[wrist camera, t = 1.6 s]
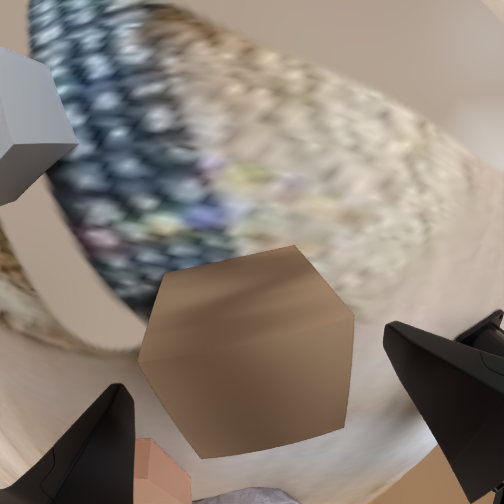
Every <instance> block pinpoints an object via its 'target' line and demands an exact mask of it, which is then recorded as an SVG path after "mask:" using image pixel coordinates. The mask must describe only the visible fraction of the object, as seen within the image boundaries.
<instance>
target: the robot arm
mask: <svg viewBox="0 0 504 504" xmlns="http://www.w3.org/2000/svg"><path fill="white" fill-rule="evenodd" d="M503 315H504V311H502V310H501V309H500V310H498V311H497V312H496V313H494V314H493V315H491V316H490V317H489V318H487V319H486V320H484V321H483V322H481V323H480V324H478V325H477V326H475V327H474V328H472V329H470V330H469V331H467V332H466V333H464V334H462V335H461V336H460V337H459V338H458V339H457V340H456V342H455V341H452V340H449V339H446V338H443V337H441V336H438V335H435V334H432V333H429V332H427V331H424V330H421V329H418V328H415V327H413V326H410V325H407V324H404V323H402V322H399V321H393V322H390V323H388V324H386V325H385V328H384V336H383V347H384V350H385V351H386V353H387V355H388V357H389V359H390V361H391V363H392V365H393V368H394V370H395V372H396V374H397V376H398V378H399V380H400V381H401V383H402V385H403V386H404V388H405V390H406V391H407V393H408V394H409V396H410V398H411V399H412V401H413V402H414V404H415V406H416V407H417V409H418V410H419V412H420V414H421V415H422V417H423V419H424V420H425V422H426V424H427V425H428V427H429V429H430V430H431V432H432V434H433V436H434V437H435V439H436V441H437V442H438V444H439V446H440V447H441V449H442V451H443V453H444V455H445V456H446V458H447V460H448V462H449V464H450V466H451V468H452V470H453V472H454V473H455V475H456V477H457V479H458V481H459V483H460V485H461V487H462V489H463V491H464V493H465V495H466V497H467V499H468V501H469V502H470V504H472V503H473V502H475V501H476V500H478V499H480V498H481V497H482V496H484V495H486V494H487V493H488V492H490V491H491V490H492V491H493V492H495V493H496V494H495V498H494V501H493V504H504V330H502V329H501V328H500V324H501V321H502V318H503ZM134 459H135V408H134V400H133V398H132V396H131V395H130V393H129V392H128V390H127V389H126V387H125V386H124V385H123V384H122V383H115V384H111V385H110V386H109V387H108V388H107V389H106V390H105V391H104V392H103V393H102V394H101V395H100V396H99V397H98V398H97V399H96V400H95V401H94V403H93V404H92V405H91V406H90V407H89V408H88V409H87V410H86V411H85V412H84V413H83V414H82V415H81V416H80V417H79V419H78V420H77V421H76V422H75V423H74V424H73V425H72V426H71V427H70V428H69V429H68V430H67V431H66V432H65V434H64V435H63V436H62V437H61V438H60V439H59V440H58V441H57V442H56V443H55V444H54V446H53V447H52V448H51V449H50V450H49V451H48V452H47V453H46V454H45V455H44V456H43V457H42V458H41V459H40V460H39V461H38V462H37V463H36V464H35V465H34V466H33V467H32V468H31V469H30V470H28V471H27V472H26V473H25V474H24V475H23V476H22V477H20V478H19V479H18V480H17V481H16V482H15V483H14V484H12V485H11V486H9V487H7V488H5V489H0V504H134Z"/></svg>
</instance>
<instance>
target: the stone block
mask: <svg viewBox="0 0 504 504" xmlns="http://www.w3.org/2000/svg"><path fill="white" fill-rule="evenodd" d="M192 504H301V503H300V502H298V501H296V500H294V499H293V498H292V497H290V496H289V495H288V494H286V493H285V492H283V491H282V490H281V489H273V488H261V487H252V488H246V489H242V490H237V491H232V492H228V493H225V494H222V495H219V496H216V497H212V498H206V499H203V500H199V501H194V502H193V503H192Z"/></svg>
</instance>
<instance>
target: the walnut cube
mask: <svg viewBox="0 0 504 504" xmlns="http://www.w3.org/2000/svg"><path fill="white" fill-rule="evenodd" d="M354 317H355V315H354V314H353V313H352V312H351V310H350V309H349V308H348V307H347V306H346V304H345V303H344V302H343V301H342V300H341V298H340V297H339V296H338V295H337V294H336V293H335V291H334V290H333V289H332V288H331V287H330V285H329V284H328V283H327V282H326V281H325V280H324V278H323V277H322V276H321V275H320V274H319V273H318V271H317V270H316V269H315V268H314V267H313V266H312V264H311V263H310V262H309V261H308V260H307V259H306V258H305V256H304V255H303V254H302V253H301V252H300V251H299V250H298V248H297V247H296V246H295V245H293V246H289V247H284V248H279V249H275V250H270V251H266V252H261V253H256V254H252V255H247V256H242V257H238V258H233V259H228V260H224V261H219V262H214V263H210V264H205V265H201V266H196V267H191V268H187V269H182V270H177V271H172V272H168V273H165V274H164V277H163V280H162V282H161V285H160V288H159V291H158V294H157V297H156V300H155V303H154V306H153V310H152V313H151V316H150V319H149V322H148V326H147V329H146V332H145V336H144V339H143V342H142V346H141V349H140V353H139V356H138V360H137V363H138V365H139V367H140V369H141V370H142V372H143V374H144V376H145V377H146V379H147V381H148V382H149V384H150V386H151V388H152V389H153V391H154V392H155V394H156V396H157V397H158V399H159V400H160V402H161V404H162V405H163V407H164V408H165V410H166V411H167V413H168V414H169V416H170V417H171V419H172V420H173V422H174V423H175V425H176V426H177V427H178V429H179V430H180V432H181V433H182V434H183V436H184V437H185V439H186V440H187V441H188V443H189V444H190V445H191V447H192V448H193V449H194V450H195V452H196V453H197V454H198V456H199V457H200V458H201V459H207V458H217V457H225V456H232V455H239V454H245V453H251V452H256V451H261V450H266V449H271V448H275V447H280V446H284V445H288V444H292V443H296V442H300V441H303V440H307V439H310V438H314V437H317V436H320V435H323V434H327V433H330V432H333V431H336V430H338V429H341V428H344V425H345V418H346V411H347V404H348V396H349V387H350V377H351V366H352V354H353V339H354Z"/></svg>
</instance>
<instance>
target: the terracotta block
mask: <svg viewBox="0 0 504 504" xmlns="http://www.w3.org/2000/svg"><path fill="white" fill-rule="evenodd" d="M134 504H192V496H191V477H190V476H189V475H188V474H187V473H186V472H185V471H184V470H182V469H181V468H180V467H179V466H178V465H177V464H176V463H175V462H174V461H173V460H172V459H171V458H170V457H169V456H168V455H167V454H166V453H165V452H164V451H163V450H162V449H161V448H160V447H159V446H158V445H157V444H156V443H155V442H154V441H153V440H152V439H135V459H134Z"/></svg>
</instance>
